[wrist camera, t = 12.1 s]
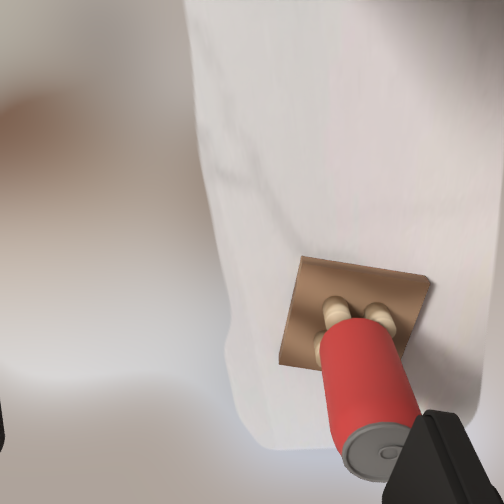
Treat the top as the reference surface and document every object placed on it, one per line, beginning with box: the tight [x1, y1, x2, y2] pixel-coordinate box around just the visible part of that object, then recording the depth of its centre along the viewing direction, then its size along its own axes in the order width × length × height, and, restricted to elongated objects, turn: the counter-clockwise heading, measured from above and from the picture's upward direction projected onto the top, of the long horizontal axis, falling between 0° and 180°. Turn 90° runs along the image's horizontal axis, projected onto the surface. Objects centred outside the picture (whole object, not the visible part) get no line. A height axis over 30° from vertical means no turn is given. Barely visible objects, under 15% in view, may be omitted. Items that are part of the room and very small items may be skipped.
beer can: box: [319, 318, 422, 483], centre depth 35 cm, size 7×7×12 cm
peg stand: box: [279, 256, 430, 371], centre depth 42 cm, size 12×12×4 cm
